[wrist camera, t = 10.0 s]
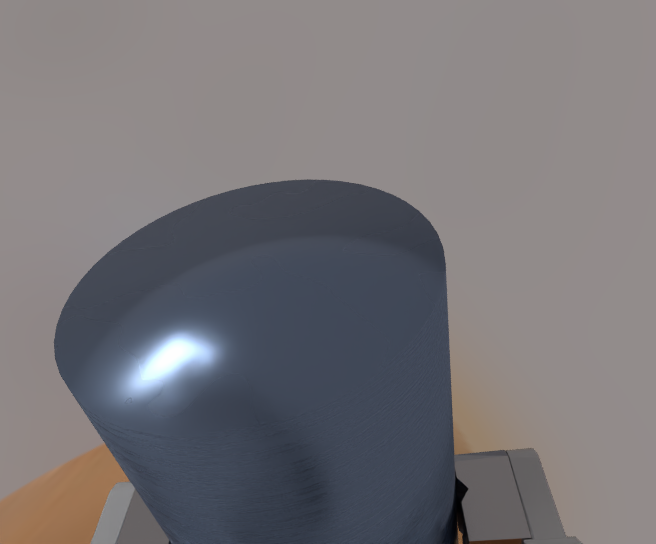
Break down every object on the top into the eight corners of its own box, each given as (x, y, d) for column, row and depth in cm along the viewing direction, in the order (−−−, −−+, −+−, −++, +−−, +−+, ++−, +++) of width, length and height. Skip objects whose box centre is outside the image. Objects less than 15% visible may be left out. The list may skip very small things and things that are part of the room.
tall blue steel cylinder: (277, 789, 14) (-30, 453, 5) (292, 578, 18) (128, 203, 9) (481, 785, 13) (486, 405, 5) (448, 569, 17) (419, 161, 9)
